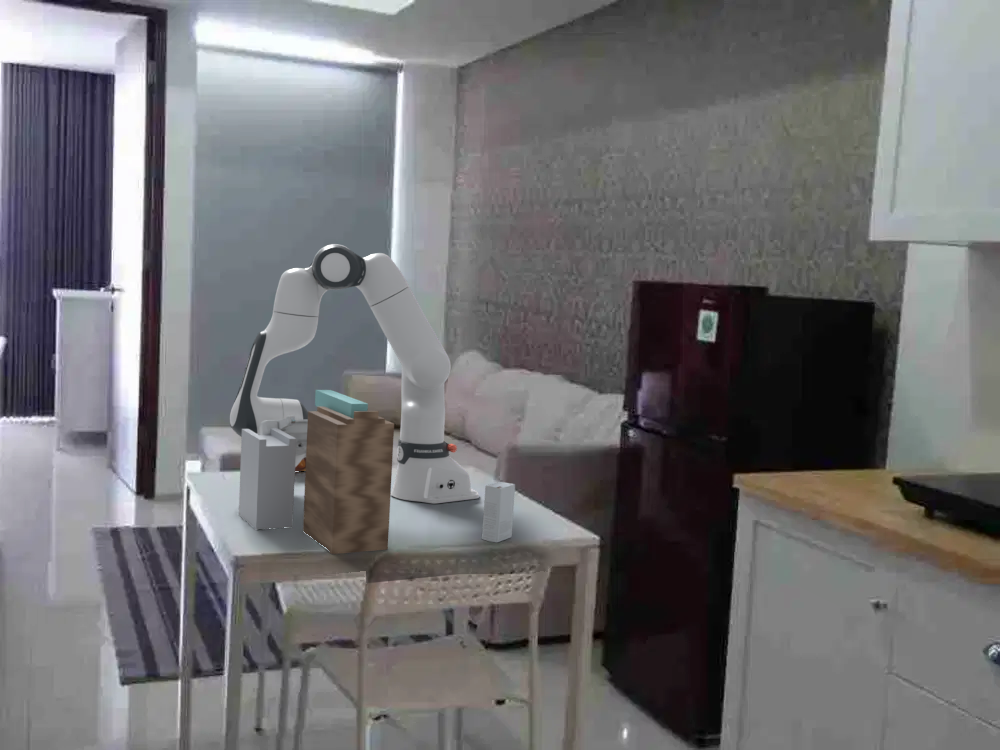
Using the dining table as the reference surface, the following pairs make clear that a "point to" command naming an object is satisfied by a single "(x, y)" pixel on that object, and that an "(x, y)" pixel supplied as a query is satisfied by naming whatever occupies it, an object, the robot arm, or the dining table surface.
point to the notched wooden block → (348, 480)
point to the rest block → (267, 479)
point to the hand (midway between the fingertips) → (312, 418)
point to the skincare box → (498, 511)
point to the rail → (339, 402)
